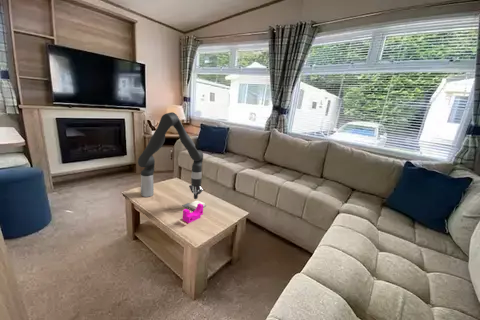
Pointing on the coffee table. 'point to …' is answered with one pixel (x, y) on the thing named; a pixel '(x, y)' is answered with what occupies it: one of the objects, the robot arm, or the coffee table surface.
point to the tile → (195, 204)
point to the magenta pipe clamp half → (193, 214)
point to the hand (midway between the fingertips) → (195, 198)
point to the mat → (189, 207)
